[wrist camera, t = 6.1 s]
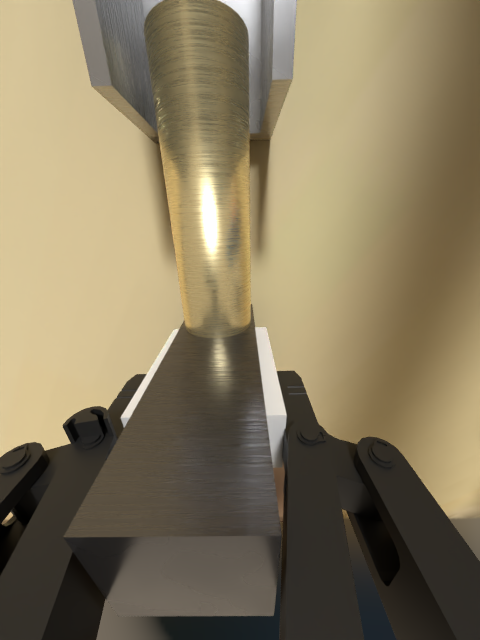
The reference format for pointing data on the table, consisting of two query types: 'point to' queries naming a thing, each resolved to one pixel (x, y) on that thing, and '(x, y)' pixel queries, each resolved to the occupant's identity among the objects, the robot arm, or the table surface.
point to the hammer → (195, 361)
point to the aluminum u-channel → (133, 70)
